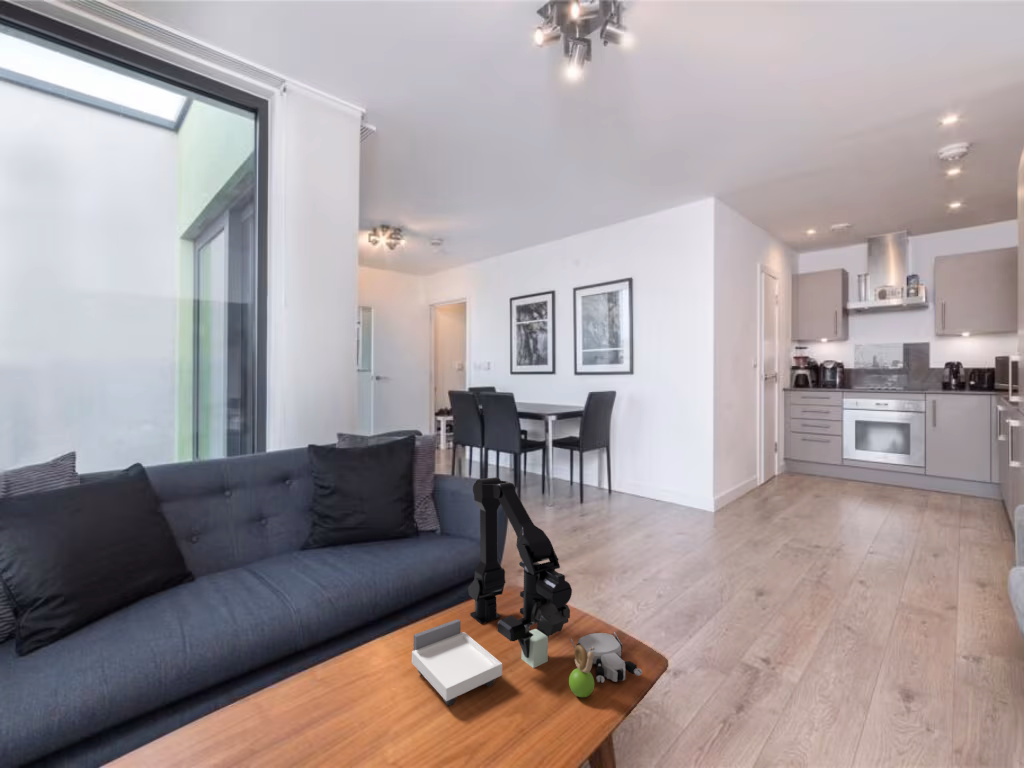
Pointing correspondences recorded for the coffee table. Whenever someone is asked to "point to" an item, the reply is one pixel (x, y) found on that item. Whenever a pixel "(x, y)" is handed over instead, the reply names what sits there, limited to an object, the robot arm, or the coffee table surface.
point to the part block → (537, 649)
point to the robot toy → (608, 656)
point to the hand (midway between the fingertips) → (534, 653)
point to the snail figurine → (582, 673)
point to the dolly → (453, 661)
